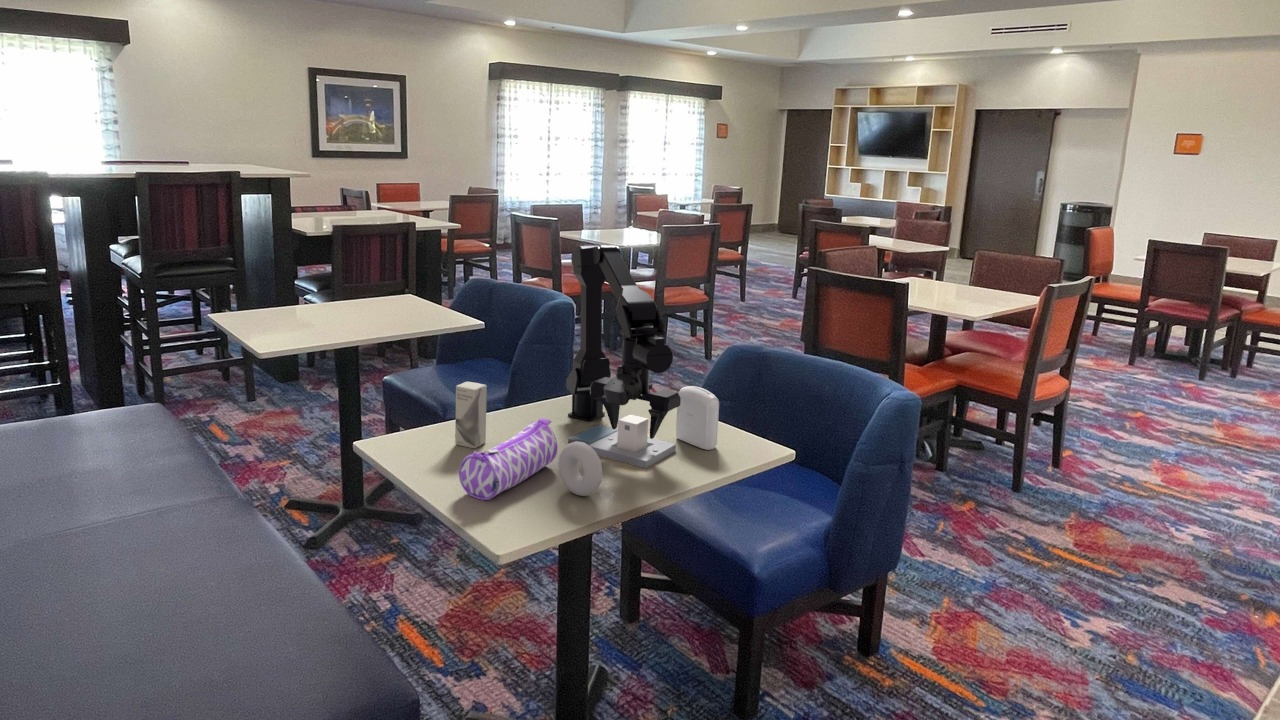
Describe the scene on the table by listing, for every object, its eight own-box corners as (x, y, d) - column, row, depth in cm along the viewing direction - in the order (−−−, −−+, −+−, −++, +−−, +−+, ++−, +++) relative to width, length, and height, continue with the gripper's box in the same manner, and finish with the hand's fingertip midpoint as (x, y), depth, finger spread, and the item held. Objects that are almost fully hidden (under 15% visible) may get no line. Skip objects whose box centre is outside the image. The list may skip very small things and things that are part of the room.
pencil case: (495, 508, 143) (495, 457, 141) (452, 497, 147) (451, 447, 145) (561, 467, 163) (562, 421, 160) (521, 458, 166) (521, 413, 164)
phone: (568, 441, 176) (568, 437, 176) (597, 428, 185) (597, 424, 185) (591, 447, 173) (591, 443, 173) (619, 433, 182) (620, 430, 182)
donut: (605, 500, 148) (607, 447, 145) (591, 505, 146) (593, 452, 143) (568, 483, 155) (569, 433, 152) (554, 488, 152) (555, 437, 150)
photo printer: (672, 438, 181) (675, 383, 178) (687, 434, 184) (690, 380, 181) (704, 452, 173) (708, 395, 170) (719, 448, 176) (723, 392, 173)
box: (454, 445, 171) (453, 385, 168) (466, 438, 175) (465, 380, 172) (476, 449, 170) (475, 389, 166) (487, 442, 174) (487, 384, 170)
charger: (617, 451, 171) (618, 419, 169) (628, 445, 175) (629, 414, 173) (635, 456, 169) (636, 424, 167) (646, 450, 173) (648, 418, 171)
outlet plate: (588, 452, 170) (588, 444, 170) (619, 436, 180) (620, 429, 180) (645, 468, 163) (646, 460, 163) (675, 451, 173) (676, 443, 173)
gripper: (574, 360, 165) (573, 434, 169) (655, 377, 156) (651, 455, 159) (606, 350, 174) (604, 420, 178) (683, 365, 165) (679, 439, 169)
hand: (633, 433), depth 171 cm, fingers open, 9 cm apart
